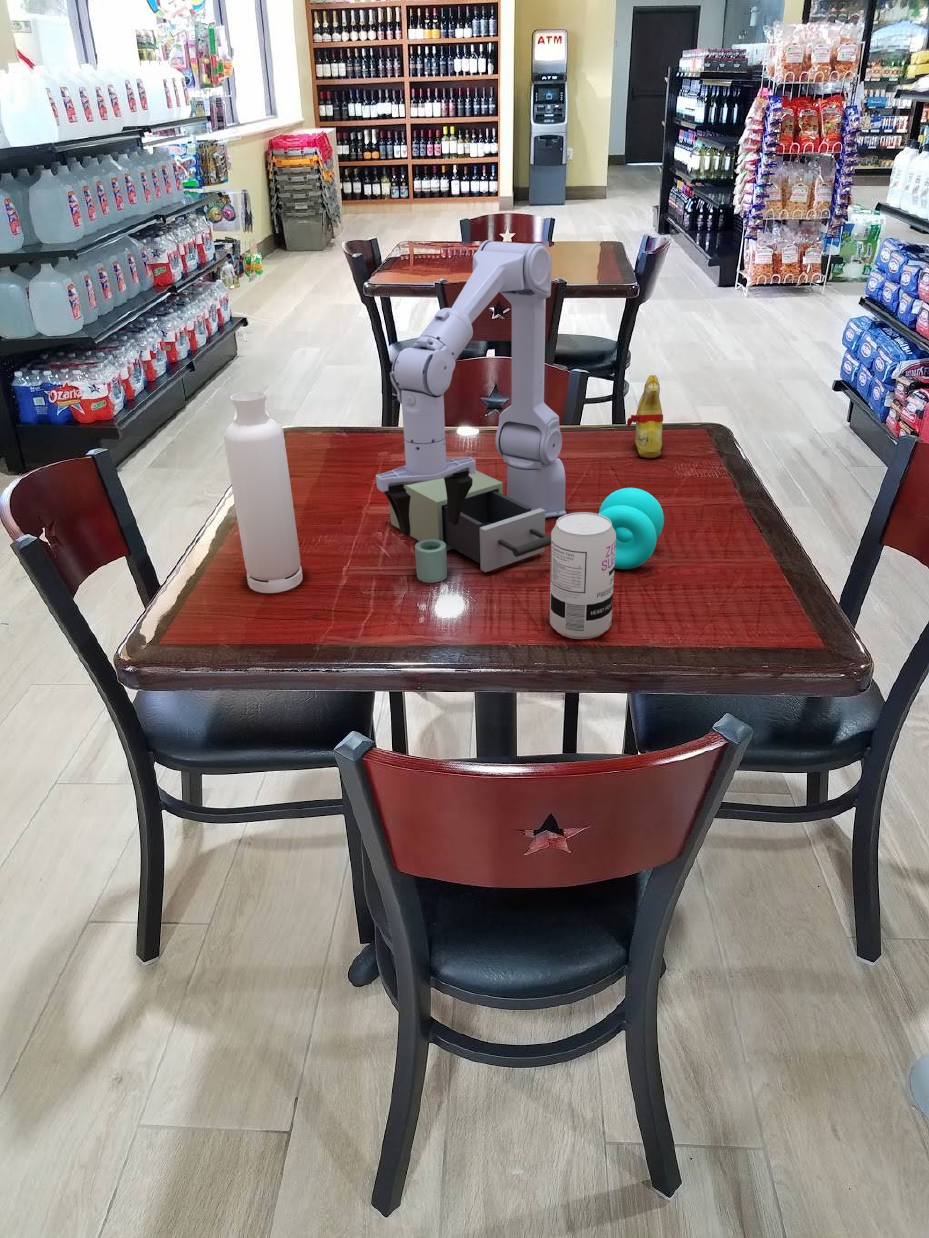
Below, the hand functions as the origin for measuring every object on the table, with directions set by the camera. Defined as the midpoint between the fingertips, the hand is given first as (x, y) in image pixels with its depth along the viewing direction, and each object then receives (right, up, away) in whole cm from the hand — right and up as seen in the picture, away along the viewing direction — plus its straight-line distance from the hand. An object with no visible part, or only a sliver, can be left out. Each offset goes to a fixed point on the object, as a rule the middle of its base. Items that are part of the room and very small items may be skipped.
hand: (429, 527), depth 135 cm
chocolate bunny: (+40, +20, +48) cm, 66 cm away
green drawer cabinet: (+2, +2, +19) cm, 19 cm away
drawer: (+10, -3, +8) cm, 14 cm away
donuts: (+30, -4, +7) cm, 31 cm away
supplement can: (+21, -14, -10) cm, 27 cm away
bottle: (-23, -8, +4) cm, 25 cm away
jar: (0, -7, +4) cm, 8 cm away
